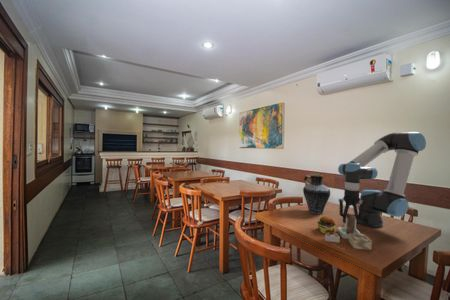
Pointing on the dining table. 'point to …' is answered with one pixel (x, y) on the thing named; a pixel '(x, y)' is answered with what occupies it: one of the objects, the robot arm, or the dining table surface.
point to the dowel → (350, 223)
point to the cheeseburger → (326, 225)
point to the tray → (343, 232)
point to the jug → (316, 193)
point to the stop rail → (332, 237)
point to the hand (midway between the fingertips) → (350, 228)
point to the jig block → (360, 241)
